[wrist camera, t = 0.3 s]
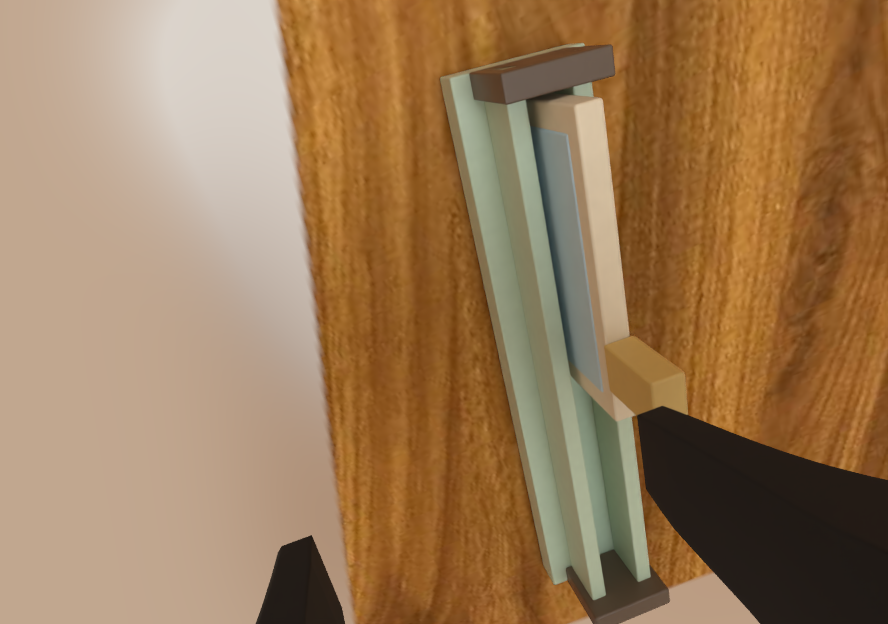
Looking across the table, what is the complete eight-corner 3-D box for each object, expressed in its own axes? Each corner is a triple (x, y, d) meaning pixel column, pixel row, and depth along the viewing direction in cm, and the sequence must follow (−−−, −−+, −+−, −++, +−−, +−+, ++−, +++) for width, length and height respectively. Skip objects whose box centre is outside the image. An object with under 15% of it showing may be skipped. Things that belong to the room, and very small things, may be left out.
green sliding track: (631, 531, 29) (684, 597, 25) (543, 566, 28) (584, 639, 25) (567, 43, 20) (633, 38, 17) (439, 77, 20) (478, 79, 16)
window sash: (583, 359, 23) (692, 459, 17) (558, 368, 23) (659, 471, 17) (542, 90, 19) (666, 100, 13) (512, 98, 19) (623, 112, 13)
